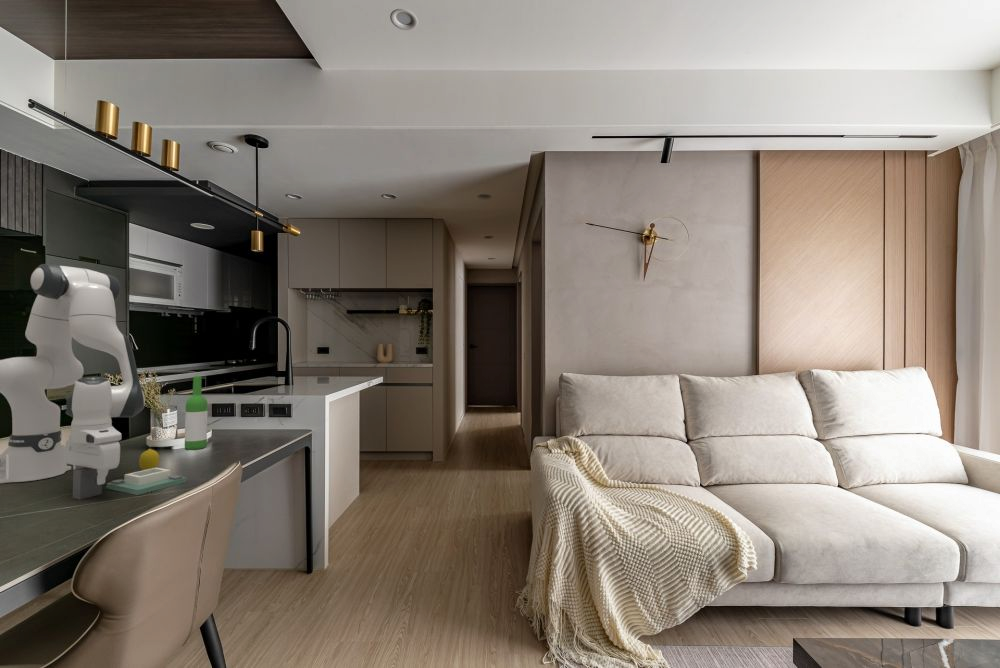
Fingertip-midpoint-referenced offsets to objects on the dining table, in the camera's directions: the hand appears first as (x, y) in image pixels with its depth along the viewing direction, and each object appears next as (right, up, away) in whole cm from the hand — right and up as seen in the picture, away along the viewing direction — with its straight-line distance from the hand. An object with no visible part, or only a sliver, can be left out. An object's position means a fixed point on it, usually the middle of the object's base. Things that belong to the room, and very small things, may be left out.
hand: (90, 482), depth 134 cm
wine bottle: (-9, -5, +61) cm, 62 cm away
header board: (+9, -4, +10) cm, 14 cm away
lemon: (-1, -5, +24) cm, 24 cm away
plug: (0, -4, 0) cm, 4 cm away
